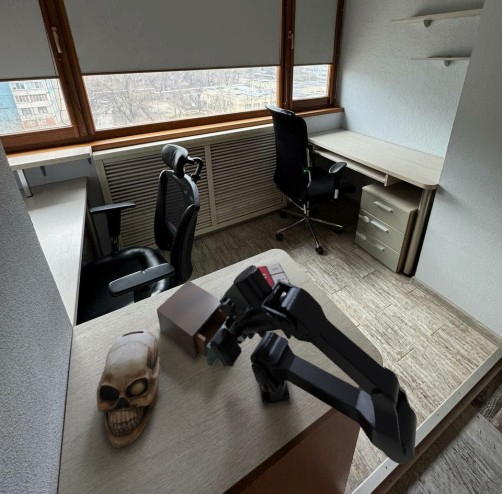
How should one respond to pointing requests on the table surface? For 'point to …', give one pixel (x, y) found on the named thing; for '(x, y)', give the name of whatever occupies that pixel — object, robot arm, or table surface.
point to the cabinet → (186, 315)
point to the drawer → (210, 335)
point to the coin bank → (129, 385)
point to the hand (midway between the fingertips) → (226, 324)
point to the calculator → (274, 275)
